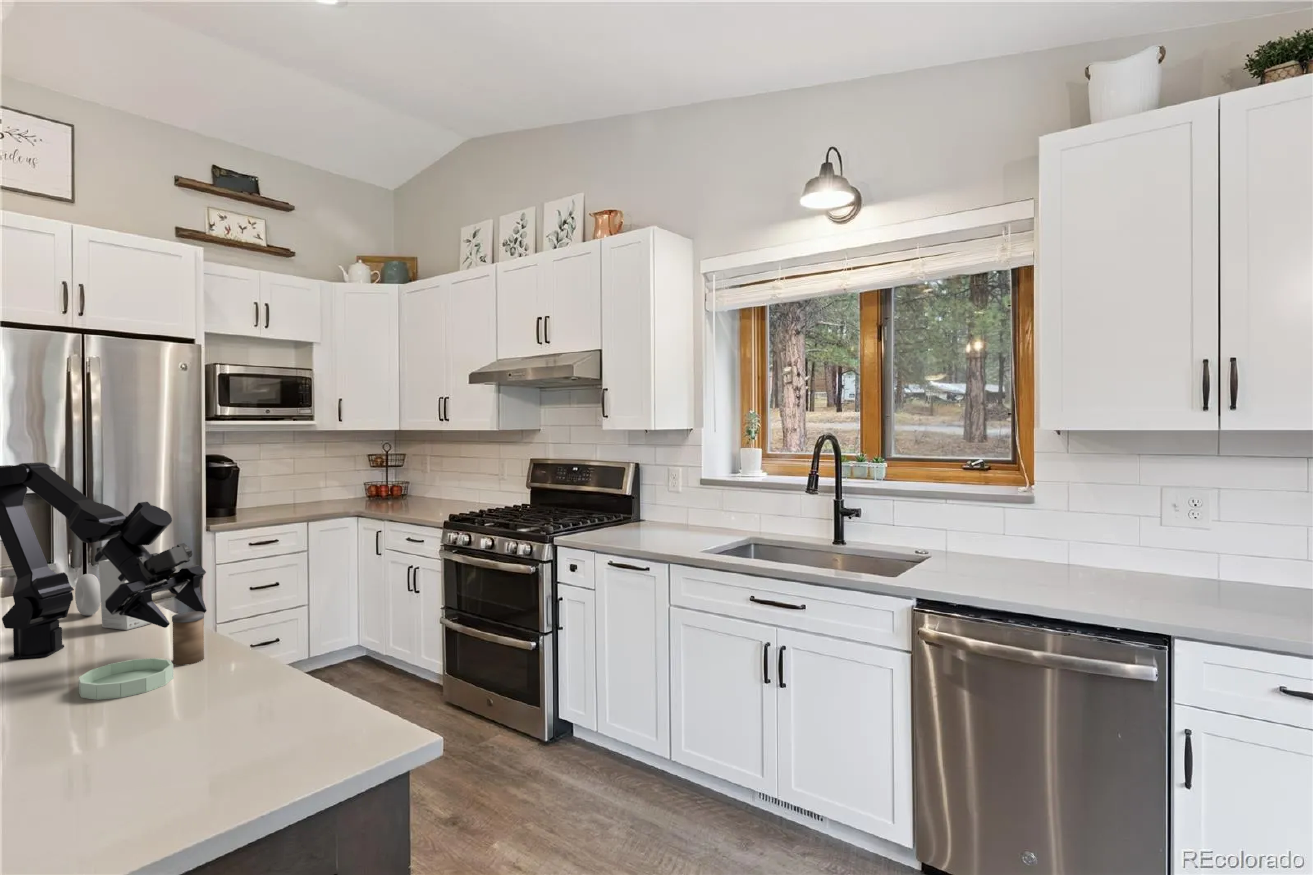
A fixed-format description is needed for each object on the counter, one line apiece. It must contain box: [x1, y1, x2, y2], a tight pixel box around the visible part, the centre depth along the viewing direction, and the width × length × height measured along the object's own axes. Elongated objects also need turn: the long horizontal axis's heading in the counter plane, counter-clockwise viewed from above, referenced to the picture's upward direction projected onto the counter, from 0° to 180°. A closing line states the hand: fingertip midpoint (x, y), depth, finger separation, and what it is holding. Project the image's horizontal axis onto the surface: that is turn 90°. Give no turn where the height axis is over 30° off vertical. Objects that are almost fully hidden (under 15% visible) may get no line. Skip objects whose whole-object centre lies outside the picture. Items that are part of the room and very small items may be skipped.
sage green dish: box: [78, 657, 174, 701], centre depth 124 cm, size 13×13×2 cm
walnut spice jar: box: [171, 610, 205, 666], centre depth 136 cm, size 5×5×9 cm
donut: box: [74, 573, 101, 617], centre depth 168 cm, size 10×4×10 cm, turn 52°
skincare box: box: [98, 560, 154, 631], centre depth 159 cm, size 8×7×16 cm
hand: (186, 619), depth 136 cm, fingers open, 9 cm apart
